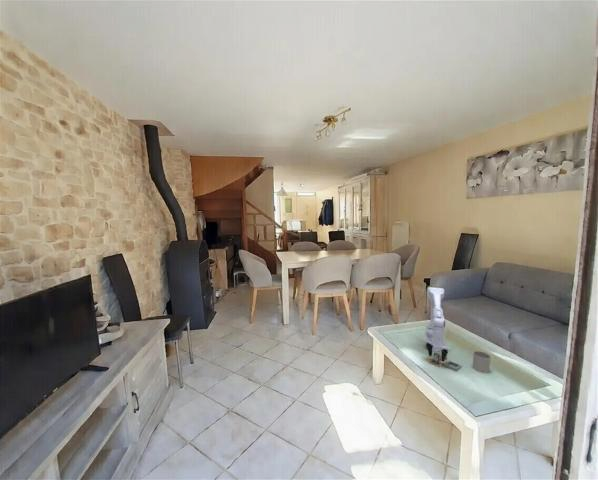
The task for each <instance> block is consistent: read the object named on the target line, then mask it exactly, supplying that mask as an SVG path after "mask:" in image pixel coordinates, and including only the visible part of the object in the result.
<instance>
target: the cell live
mask: <svg viewBox="0 0 598 480" xmlns="http://www.w3.org/2000/svg"><path fill="white" fill-rule="evenodd" d="M432 358H433V361H432V362H433V363H435V364H438V365H440V362H441V360H440V359H441V353H438V352H433V357H432ZM439 361H440V362H439Z"/></svg>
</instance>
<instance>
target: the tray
mask: <svg viewBox="0 0 598 480" xmlns="http://www.w3.org/2000/svg"><path fill="white" fill-rule="evenodd" d="M446 362H448V361H447V360H444V361H443V362H442V358H440V361H439V365H438V364H435V363H433V357H432V358H431V359H429V360H427V363H429V364H430V365H433V366H435V367H438V368H441V367H442V366H444V364H445V363H446Z"/></svg>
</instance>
